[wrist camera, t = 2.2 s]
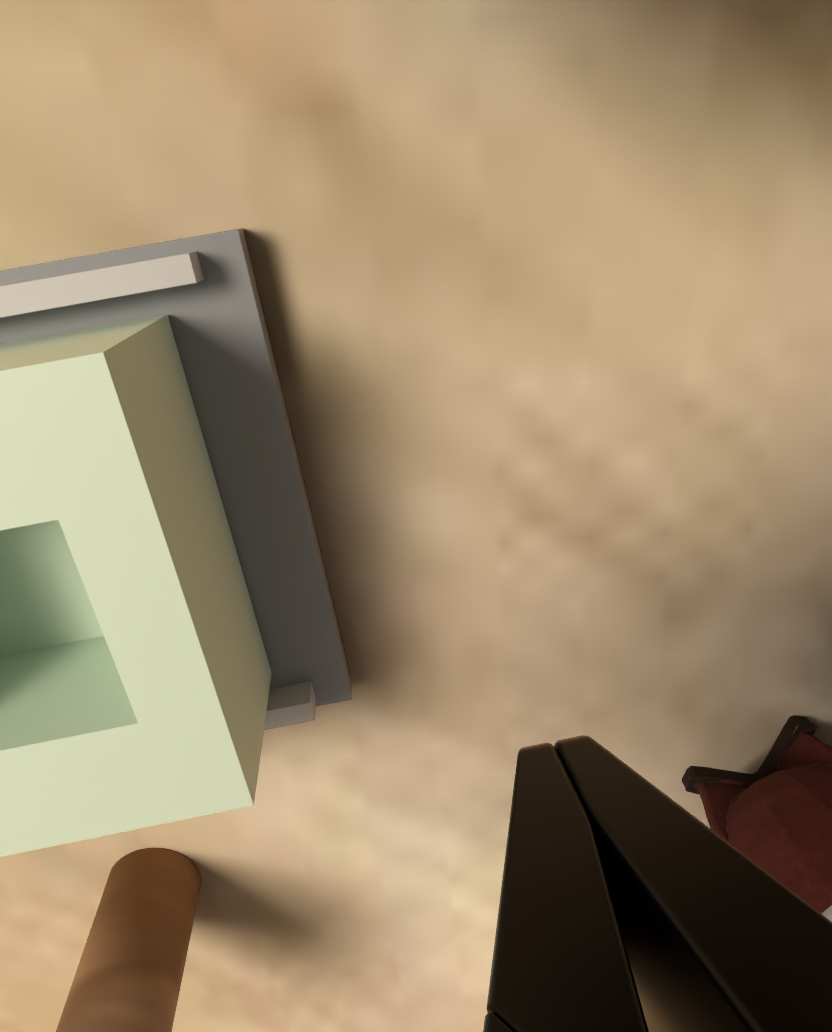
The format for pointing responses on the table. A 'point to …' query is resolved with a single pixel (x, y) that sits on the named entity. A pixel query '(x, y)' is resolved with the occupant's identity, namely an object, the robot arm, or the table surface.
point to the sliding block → (117, 597)
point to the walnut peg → (136, 947)
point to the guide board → (217, 429)
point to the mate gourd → (779, 811)
